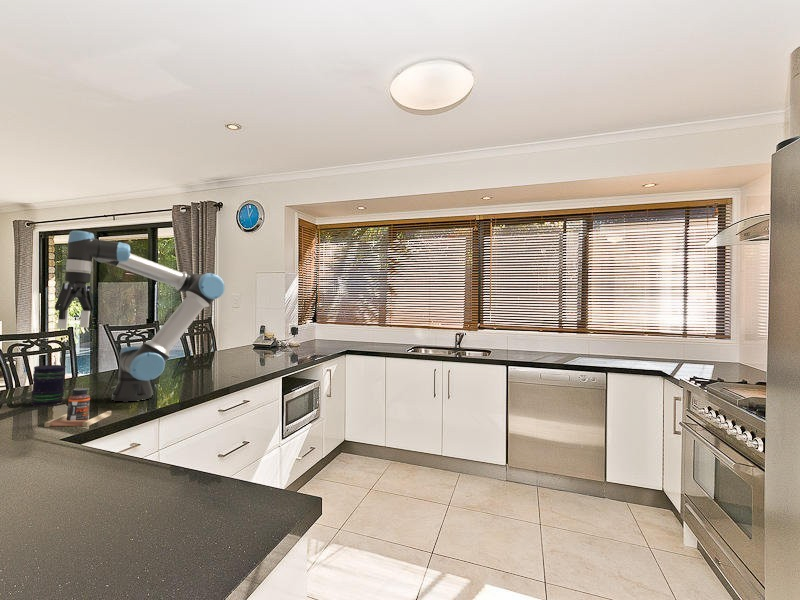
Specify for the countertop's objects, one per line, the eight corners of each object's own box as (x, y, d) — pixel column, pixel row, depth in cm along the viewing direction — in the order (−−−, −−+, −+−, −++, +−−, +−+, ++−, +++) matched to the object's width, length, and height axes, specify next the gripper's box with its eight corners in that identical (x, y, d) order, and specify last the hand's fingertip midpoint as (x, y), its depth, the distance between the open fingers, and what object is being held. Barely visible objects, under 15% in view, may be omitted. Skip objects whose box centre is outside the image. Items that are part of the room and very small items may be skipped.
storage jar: (47, 407, 155) (51, 368, 156) (23, 405, 156) (26, 367, 156) (69, 401, 165) (72, 365, 166) (46, 400, 166) (49, 364, 166)
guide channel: (73, 414, 147) (73, 411, 147) (111, 414, 149) (111, 411, 149) (44, 426, 131) (44, 422, 131) (86, 426, 134) (87, 422, 134)
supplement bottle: (75, 424, 135) (78, 391, 136) (61, 422, 136) (64, 389, 137) (92, 420, 141) (95, 388, 142) (78, 418, 142) (81, 386, 143)
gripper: (85, 274, 163) (81, 326, 162) (45, 267, 138) (39, 328, 137) (106, 275, 164) (102, 327, 163) (69, 269, 140) (64, 329, 139)
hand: (73, 328), depth 150 cm, fingers open, 13 cm apart
